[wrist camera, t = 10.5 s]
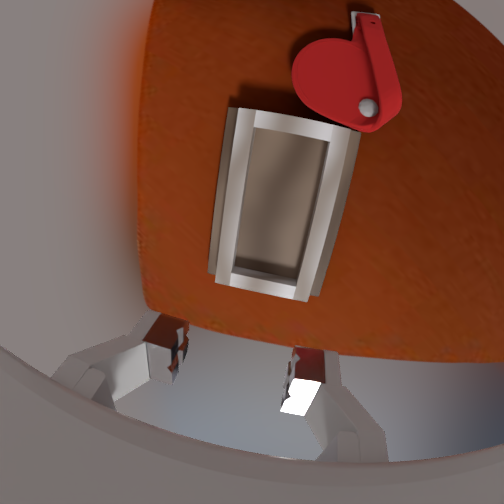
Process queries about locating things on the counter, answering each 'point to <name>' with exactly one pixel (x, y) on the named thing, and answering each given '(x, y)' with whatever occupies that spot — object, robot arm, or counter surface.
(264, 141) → the grey rectangular tray
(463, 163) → the counter surface
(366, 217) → the counter surface
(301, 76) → the tracker holder
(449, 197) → the counter surface
